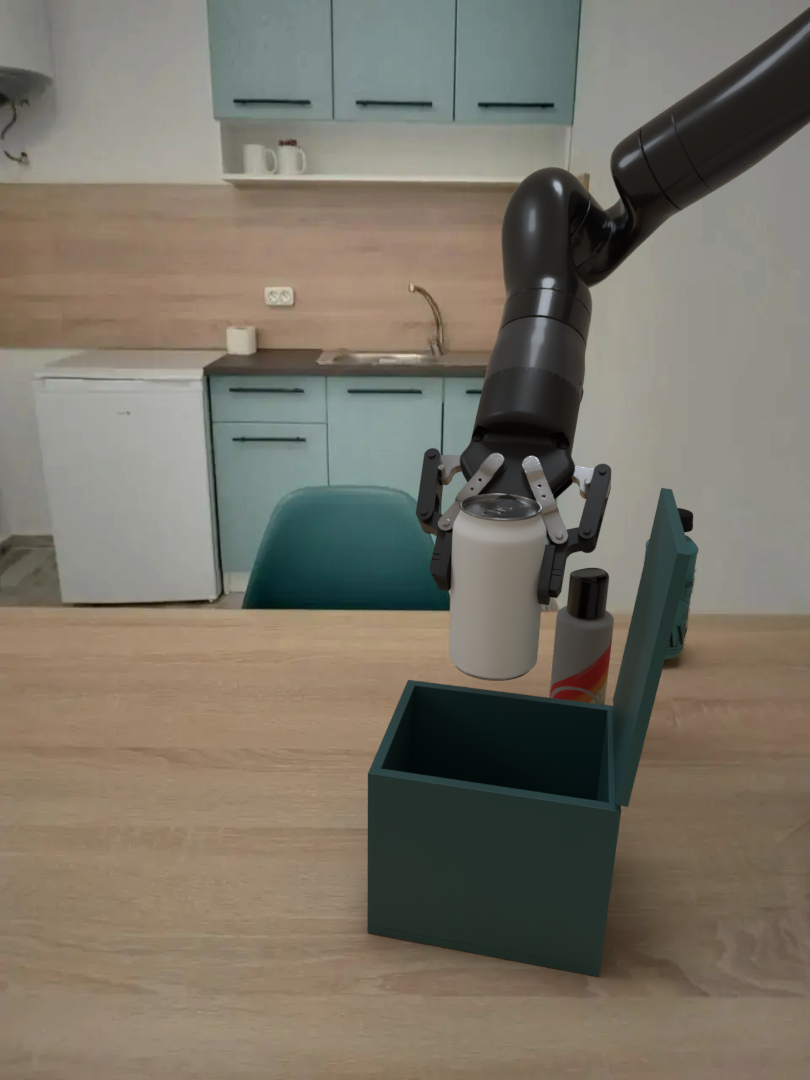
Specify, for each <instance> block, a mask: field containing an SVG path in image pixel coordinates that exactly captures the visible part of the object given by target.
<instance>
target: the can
mask: <svg viewBox="0 0 810 1080" xmlns="http://www.w3.org/2000/svg"><path fill="white" fill-rule="evenodd" d="M501 495H507V494H499V493H491V494H480V495H474V496H470V497H468V498H465V499H463V500H462V501H461V502H460V505H459V506H460V512H459V514H458V516H457V518H456V519H455V522H454V524H453V534H452V559H451V588H450V591H449V592H450V593H449V599H450V600H449V628H448V629H449V630H448V631H449V632H448V658H449V660H450V661H451V663H452V664H453V665H454V666H455V668H456V669H457V670H458V671H460V672H461V673H463V674H464V675H466V676H469V677H471V678H474V679H478V680H482V681H489V682H504V681H511V680H516V679H518V678H521V677H523V676H525V675H526V674H528V673H529V672H530V671H531V670H533V669H534V667H535V666H536V664H537V662H538V653H539V643H540V631H541V630H540V629H541V618H542V617H541V616H542V604H539V603H538V597H537V592H538V585H539V580H540V574H541V568H542V562H543V556H544V551H545V545H547V538H546V527H545V524H544V521H543V519H542V517H541V514H540V513H541V511H542V507H541V505H540V504H539V503H538V502H536V501H534V500H532V499H530V498H527V497H523V496H518V495H511V496H513V497H515V498H517V499H516V500H518V501H520V502H517V501H511V500H499V499H496V498H500V497H499V496H501Z"/></svg>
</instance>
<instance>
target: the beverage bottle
mask: <svg viewBox="0 0 810 1080" xmlns="http://www.w3.org/2000/svg"><path fill="white" fill-rule="evenodd" d="M677 509H678V512H679V516H680V519H681V523H682V526H683V530H684V533H689V532H692V531H693V529H694V513H693V511H691V510H688V509H686V508H683V507H677ZM685 537H686V540H687V544H688V547H689V551H690V554H691V556H690V560H689V565H688V569H687V573H686V577H685V581H684V585H683V589H682V593H681V597H680V601H679V605H678V609H677V613H676V617H675V621H674V625H673V629H672V633H671V637H670V641H669V645H668V649H667V653H666V657H665V660H667V659H668V660H669V659H675V658H677V657H679V656H680V655H681V654H682V653H683V651H684V647H685V645H686V644H685V642H686V639H687V637H686V636H687V633H688V627H687V626H689V621H690V619H689V614H690V613H691V612H690V611H691V609H690V606H691V598H692V595H693V593H694V586H695V583H696V582H695V580H696V575H695V574H696V572H697V568H696V564H697V558H698V554H699V546H698V545H697V543H696V542H695V541H694V540H693V539H692V538H691V537H690V536H689V535H687V534H685ZM648 544H649V539H647V540H646V542H645V552H644V559H643V562H644V561H645V557H646V553H647V548H648Z"/></svg>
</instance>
